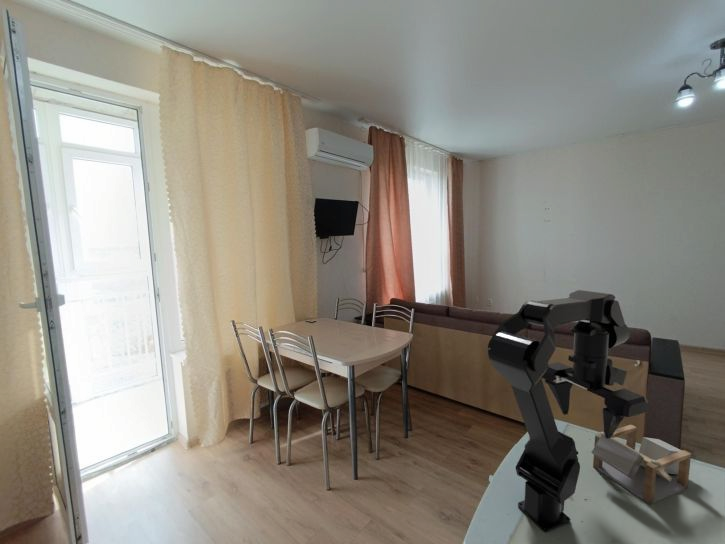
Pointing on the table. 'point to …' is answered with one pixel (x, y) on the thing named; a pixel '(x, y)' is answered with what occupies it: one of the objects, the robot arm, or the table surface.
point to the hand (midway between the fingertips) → (585, 425)
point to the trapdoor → (622, 457)
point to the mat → (642, 482)
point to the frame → (652, 462)
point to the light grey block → (659, 452)
